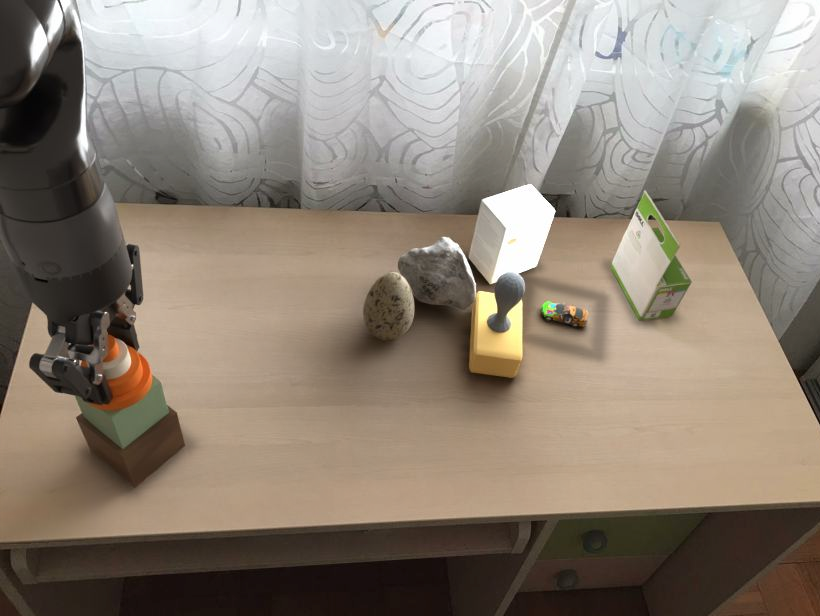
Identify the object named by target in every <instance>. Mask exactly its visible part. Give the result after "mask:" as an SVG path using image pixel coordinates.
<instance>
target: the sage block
mask: <svg viewBox="0 0 820 616" xmlns="http://www.w3.org/2000/svg"><path fill="white" fill-rule="evenodd" d="M74 397H75V401H76V402H77V404H78V407H79V409H80V412H81V413H82V414H83V416H84V418H86V419H87V420H88V421H89V422H90V423H92V424H93V425H94V426H95V427H96V428H98V429H99V430H100V431H101V432H102V433H104V434H105V435H106V436H107V437H108V438H110V439H111V440H112V441H113V442H115V443H116V444H117V445H118V446H119V447H121V448H122V449H124V448H125V447H127V446H128V445H129V444H130V443H132V442H133V441H134V440H135V439H137V438H138V437H139V436H140V435H142V434H143V433H144V432H145V431H147V430H148V429H149V428H150V427H152V426H153V425H154V424H155V423H157V422H158V421H159V420H160V419H162V418H163V417H164V416H165V415H167V414H168V413H169V411H168V407H167V405H168V404H167V399H166V396H165V391H164V388H163V384H162V381H161V379H159V378H158V377H156V375H154V374H152V384H151V387H150V389H149V391H148V393H147V394H146V395H145V396H144V397H143V398H142V399H141V400H140V401H139V402H137V403H136V404H134V405H132V406H130V407H127V408H124V409H120V410H102V409H98V408H95V407H93V406H91V405H90V404H88V403H87V402H84V401H83V399H82V398H81V397H79V396H75V395H74Z"/></svg>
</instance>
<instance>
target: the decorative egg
mask: <svg viewBox="0 0 820 616" xmlns="http://www.w3.org/2000/svg"><path fill="white" fill-rule="evenodd" d="M362 314H363V315H362V317H363V322H364V325H365V327H366V328H367V330H368V332H369V333H370V334H371V335H372V336H373V337H375V338H376V339H379V340H382V341H393V340H397V339H400V338H401V337H402V336H404V335H405V334H406V333H407V332H408V331H409V330H410V328H411V326H412V324H413V321H414V317H415V300H414V294H413V291H412V289H411V287H410V286H409V284H408V282H407V281H406V279H405V278H404V277H403V276H402V275H401V273H398V272H395V271H389V272H386V273H384V274H382V275H381V276H380V277H378V278H377V279H376V280H375V281H374V282H373V284H372V285H371V287H370V289H369V291H367V294H366V297H365V299H364V303H363V308H362Z"/></svg>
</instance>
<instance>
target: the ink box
mask: <svg viewBox="0 0 820 616" xmlns="http://www.w3.org/2000/svg"><path fill="white" fill-rule="evenodd" d="M642 193H643V194H642V196H641V198H640V200H639V203H638V205H637V206H636V209H635V211H634V212H633V213H634V214H633V215H632V218H631V219H630V222H629V224H628V226H627V227H626V231H625V232H624V233H623V236H622V239H621V241H620V243H619V244H618V248H617V250H616V253H615V254H614V257H613V259H612V261H611V263H610V265H609V266H610V269H611V271H612V273H613V274H614V276H615V278H616V280H617V282H618V284H619V286H620V288H621V290H622V292H623V293H624V295H625V297H626V299H627V301H628V303H629V304H630V306H631V309H632V310H633V312H634V315H635V316H636V319H637V320H638V321H649V320H656V319H658V320H659V319H665V318H668V317H673V316H674V314H675V312H676V310H677V309H678V307H679V306H680V304H681V302H682V300H683V298H684V297H685V295H686V293H687V292H688V290H689V288H690V286H691V284H692V281H693V280H692V279H691V278H690V276H689V274H688V273H687V271H686V269H685V268H684V266H683V265H682V262H681V261H680V260H679V258H678V256H677V255H676V254H677V252H678V251H679V249H680V247H681V243H680V241H679V240H678V239H677V237H676V235H675V234H674V233H673V231H672V229H671V228H670V226H669V225H668V222H667V221H666V220H665V218H664V216H663V214H662V213H661V212H660V210H659V209H658V207H657V205H656V204H655V202H654V201H653V199H652V198H651V196H650V194H649V193H648V192H647V190H646V189H644V191H643V192H642ZM650 216H652V217H653V218H654V219H655V220H656V221H657V222H658V223H659V226H660V227H651V225H650V224H649V217H650ZM660 228H661V229H660Z"/></svg>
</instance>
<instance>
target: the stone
mask: <svg viewBox="0 0 820 616" xmlns="http://www.w3.org/2000/svg"><path fill="white" fill-rule="evenodd" d="M397 270H398V271H399V274H400V275H402V276H403V277H404V278H405V279H406V281H407V282H408V284H409V286H410V288H411V291H412V294H413V296H414V297H415V298H416V299H417V300H418V301H419V302H420V303H424V304H426V305H427V304H428V305H435V306H436V305H437V306H449V307H451V308H453V309H457V310H459V311H465V310H466V309H467V308H468V307H470V306H471V305H472V304H473V303H474V300H475V297H476V294H477V283H476V282H475V277H474V275H473V271H472V269H471V266H470V264H469V262H468V259H467V257H466V255H465V254H464V252H463V250H462V249H461V246H460V245H459V243H457V242H454V241H453V240H452V239H451V237H449V236H447V237H446V236H441V237H439V239H438V240H437V241H436V242H435V243H434V244H433V245H429V246H425V247H421V248H419V247H418V248H417V247H413V248H410V250H408V251H407V252H406V253H404V254H402V255H400V257H399V259H398V261H397Z"/></svg>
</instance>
